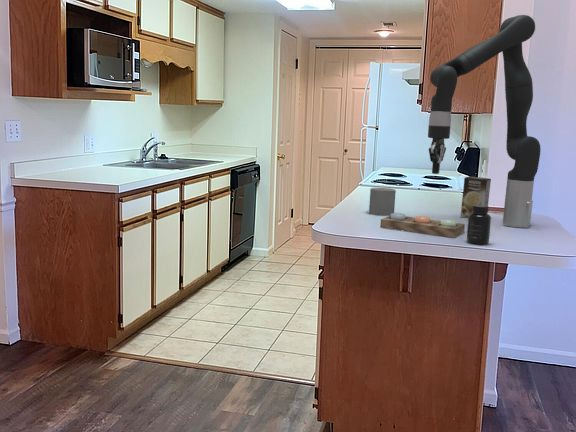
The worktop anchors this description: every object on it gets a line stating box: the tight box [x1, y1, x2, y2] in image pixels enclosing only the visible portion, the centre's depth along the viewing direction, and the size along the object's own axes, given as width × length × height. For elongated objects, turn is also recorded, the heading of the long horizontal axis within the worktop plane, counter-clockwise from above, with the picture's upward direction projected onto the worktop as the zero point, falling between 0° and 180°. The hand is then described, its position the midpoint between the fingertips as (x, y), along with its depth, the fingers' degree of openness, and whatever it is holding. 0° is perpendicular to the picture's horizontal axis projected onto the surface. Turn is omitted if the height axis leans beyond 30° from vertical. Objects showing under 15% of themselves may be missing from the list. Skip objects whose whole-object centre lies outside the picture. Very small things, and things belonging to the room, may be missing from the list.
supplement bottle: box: [466, 205, 492, 246], centre depth 183 cm, size 7×7×12 cm
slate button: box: [391, 212, 406, 220], centre depth 205 cm, size 5×5×3 cm
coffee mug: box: [368, 186, 397, 217], centre depth 233 cm, size 13×10×10 cm
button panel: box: [379, 215, 466, 239], centre depth 201 cm, size 26×12×3 cm, turn 58°
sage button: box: [440, 218, 457, 227], centre depth 196 cm, size 5×5×3 cm
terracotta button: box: [415, 215, 431, 224], centre depth 201 cm, size 5×5×3 cm
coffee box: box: [460, 175, 492, 219], centre depth 229 cm, size 9×6×16 cm
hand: (435, 173), depth 207 cm, fingers closed
